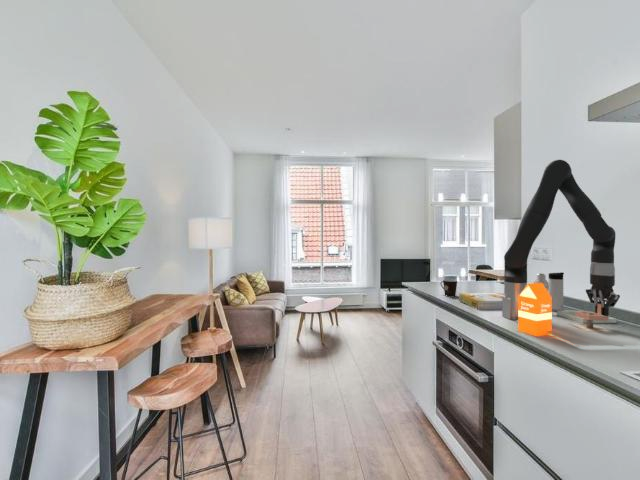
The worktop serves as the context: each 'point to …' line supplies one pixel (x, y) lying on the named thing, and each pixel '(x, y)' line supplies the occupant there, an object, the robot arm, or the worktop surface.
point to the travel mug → (556, 290)
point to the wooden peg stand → (589, 326)
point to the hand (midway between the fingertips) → (601, 315)
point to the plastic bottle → (542, 280)
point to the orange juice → (535, 310)
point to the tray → (571, 316)
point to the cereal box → (482, 300)
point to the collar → (592, 317)
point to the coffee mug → (449, 287)
